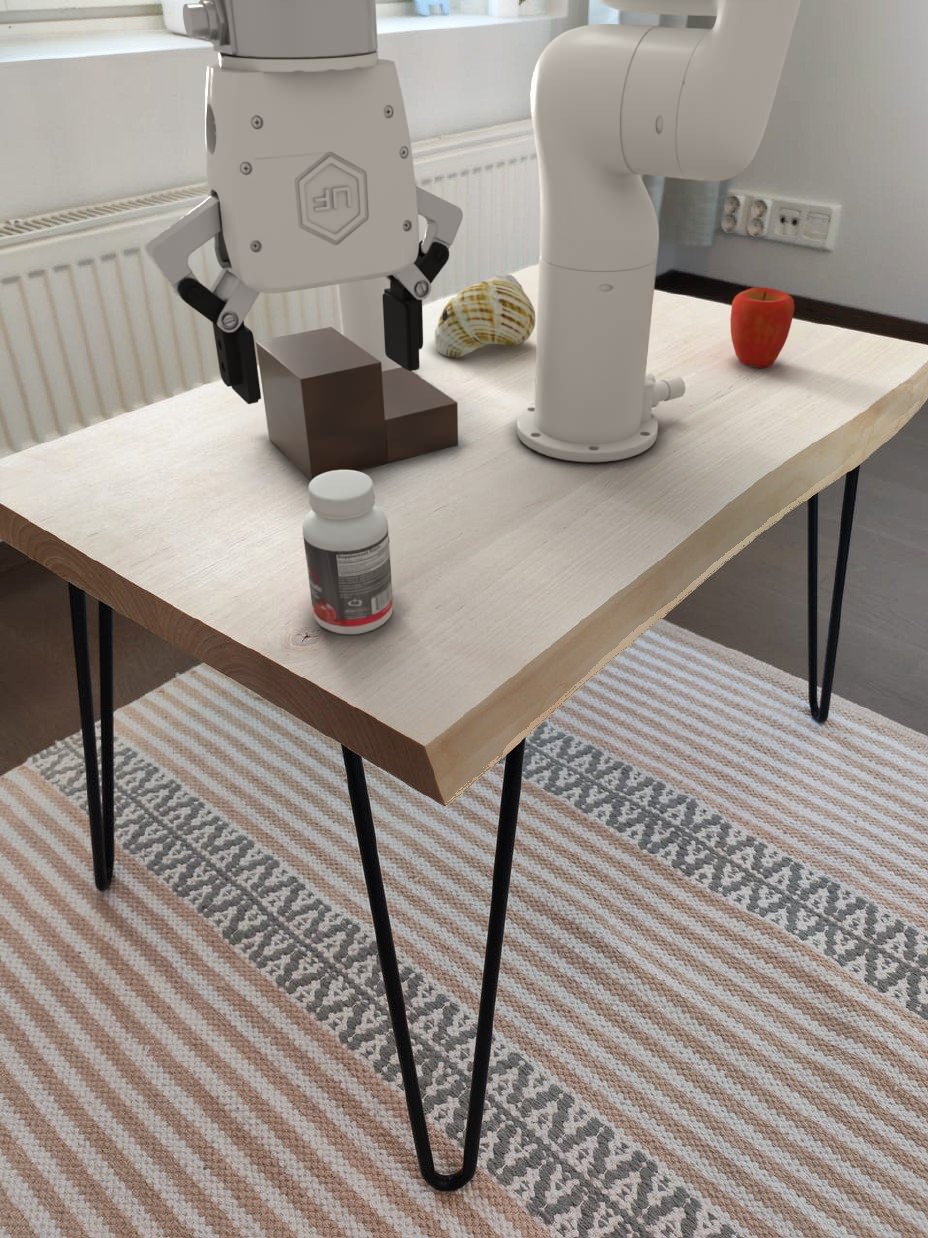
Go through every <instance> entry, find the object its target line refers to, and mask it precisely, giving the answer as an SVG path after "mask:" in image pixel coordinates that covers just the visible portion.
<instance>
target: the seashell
mask: <svg viewBox="0 0 928 1238" xmlns="http://www.w3.org/2000/svg"><path fill="white" fill-rule="evenodd" d="M535 326H536V310H535V307H534V305H533V303H532V301H531V299H530V298H529V296H528V295H527V294H526V293H525V291H524V288H523V286H522V284H520V282H519V281H518V280H517V278H515V277H514V276H513V275H512V274H508V273H507V274H500V275H493V276H492V277H489V278H488V279H487V280H485V281H481V282H478V283H475V284H472V285H470V286H468V287H466V288H465V289H463V290H462V291H460V292H459V293H458V294H457V295H456V296H454V297H452V298H451V299H449V301H448V303H447V304H446V305H445V306H444V308H443V310H442V311H441V314H440V316H439V318H438V321H437V324H436V326H435V330H434V344H435V350H436V352H437V353H438V354H440V355H443V356H444V357H445V356H446V357H449V358H461V357H464V356H466V355H468V354H471V353H472V352H474V351H476V350H477V349H479V348H481V347H485V346H486V345H499V346H505V347H514V346H518V345H520V344H523V343H524V342H525V341H527V340H528V339H529V338H530V337H531V335H532V334H533V332H534V329H535Z"/></svg>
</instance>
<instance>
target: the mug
mask: <svg viewBox="0 0 928 1238" xmlns="http://www.w3.org/2000/svg"><path fill="white" fill-rule="evenodd" d="M388 288H390V282H389V280H388V279H387V278H386V277H385V276H384V277H379V278H373V279H367V280H361V281H355V282H349V283H343V284H336V290H337V292H336V293H337V300H338V309H339V310H338V311H339V318H340V329H341V334H342V335H344V336H345V337H346V338H348V339H349V340H351V341H352V342H353V343H355V344H356V345H358V346H359V347H361V348H362V349H363V350H365V351H366V352H368V353H369V354H370V355H372V356H373V357H375V358H376V359H378V360H379V361H380V362H381V365H382V371H386V370H391V369H396V368H400V367H401V366H400V365H398V364H397V363H395V362H394V361H392V360H391V359H389V358H388V357H387V356H386V353H385V339H384V319H383V299H382V296H383V294H384V289H388Z"/></svg>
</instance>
